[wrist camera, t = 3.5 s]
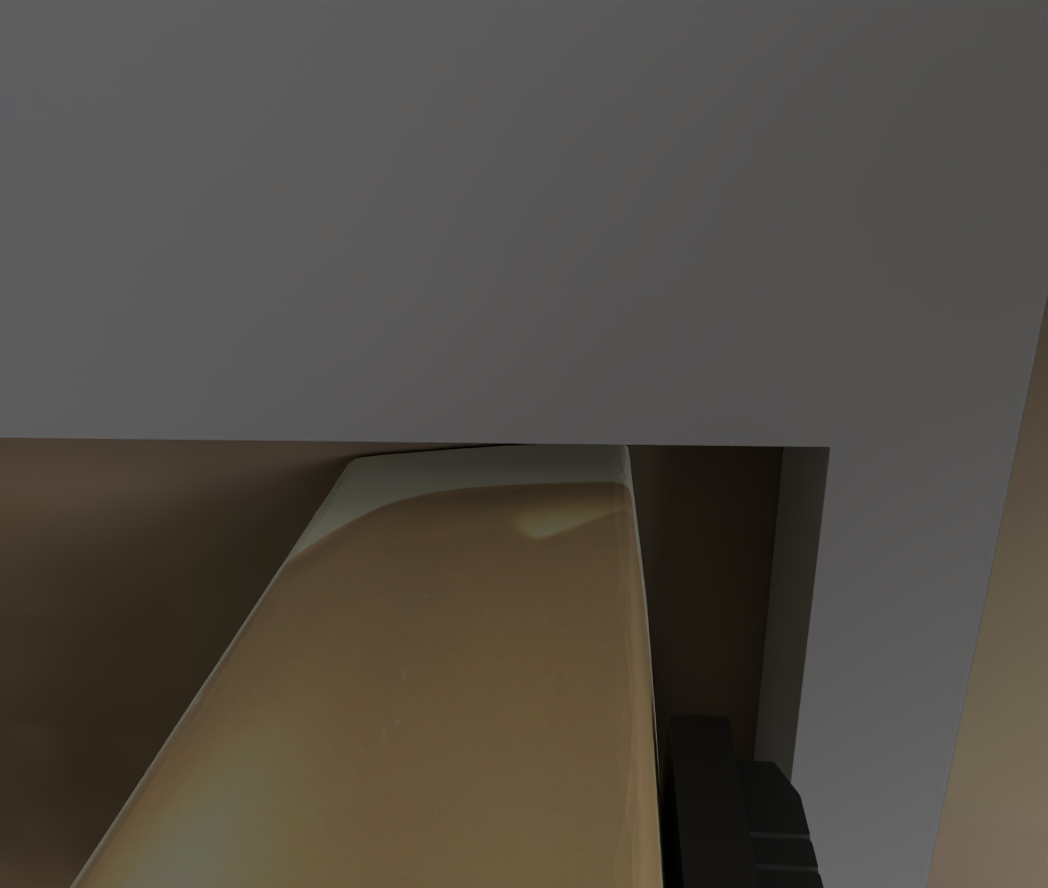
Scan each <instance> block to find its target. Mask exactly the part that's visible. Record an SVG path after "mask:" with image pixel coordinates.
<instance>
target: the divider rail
mask: <svg viewBox="0 0 1048 888" xmlns="http://www.w3.org/2000/svg"><path fill="white" fill-rule="evenodd" d="M1047 296H1048V0H0V438H71V439H162V440H252V441H342V442H433V443H523V444H613V445H703V446H784V447H783V458H782V468H781V479H780V489H779V500H778V510H777V520H776V531H775V541H774V552H773V562H772V573H771V583H770V594H769V604H768V614H767V625H766V635H765V646H764V656H763V667H762V677H761V687H760V698H759V708H758V719H757V729H756V740H755V750H754V761H769V762H775V764H776V765H777V766H778V767H779V769H780V770H781V771H782V773H783V774H784V775H785V776H786V778H787V779H788V780H789V782H790V783H791V784H792V785H793V787H794V788H795V789H796V790H797V792H798V793H799V794H800V796H801V800H802V804H803V808H804V812H805V816H806V820H807V824H808V828H809V832H810V841H812V844H813V848H814V852H815V856H816V859H817V863H818V873H819V874H820V875H821V879H822V883H823V887H824V888H926V885H927V880H928V875H929V870H930V865H931V861H932V856H933V851H934V846H935V841H936V836H937V831H938V826H939V822H940V817H941V812H942V807H943V802H944V797H945V792H946V788H947V783H948V778H949V773H950V768H951V763H952V758H953V753H954V749H955V744H956V739H957V734H958V729H959V724H960V719H961V715H962V710H963V705H964V700H965V695H966V690H967V685H968V680H969V676H970V671H971V666H972V661H973V656H974V651H975V646H976V642H977V637H978V632H979V627H980V622H981V617H982V612H983V607H984V603H985V598H986V593H987V588H988V583H989V578H990V573H991V569H992V564H993V559H994V554H995V549H996V544H997V539H998V534H999V530H1000V525H1001V520H1002V515H1003V510H1004V505H1005V500H1006V496H1007V491H1008V486H1009V481H1010V476H1011V471H1012V466H1013V461H1014V457H1015V452H1016V447H1017V442H1018V437H1019V432H1020V427H1021V423H1022V418H1023V413H1024V408H1025V403H1026V398H1027V393H1028V388H1029V384H1030V379H1031V374H1032V369H1033V364H1034V359H1035V354H1036V350H1037V345H1038V340H1039V335H1040V330H1041V325H1042V320H1043V315H1044V311H1045V306H1046V301H1047Z"/></svg>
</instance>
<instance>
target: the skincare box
mask: <svg viewBox="0 0 1048 888" xmlns="http://www.w3.org/2000/svg"><path fill="white" fill-rule="evenodd" d="M70 888H667V887H666V874H665V861H664V844H663V828H662V812H661V797H660V782H659V766H658V750H657V734H656V718H655V704H654V691H653V677H652V664H651V650H650V636H649V622H648V609H647V598H646V589H645V581H644V573H643V564H642V556H641V547H640V539H639V531H638V523H637V515H636V506H635V498H634V490H633V482H632V474H631V463H630V456H629V451H628V447H627V446H626V445H613V444H527V445H508V446H494V447H478V448H462V449H450V450H438V451H425V452H414V453H401V454H388V455H378V456H369V457H361V458H357V459H355V460H353V461H351V462H350V463H348V465H347V466H346V468H345V469H344V471H343V473H342V474H341V476H340V477H339V479H338V480H337V482H336V483H335V485H334V486H333V488H332V490H331V491H330V493H329V494H328V496H327V497H326V499H325V500H324V501H323V503H322V504H321V506H320V507H319V509H318V510H317V512H316V513H315V515H314V516H313V518H312V520H311V521H310V523H309V524H308V526H307V527H306V529H305V530H304V532H303V533H302V535H301V536H300V538H299V539H298V541H297V543H296V544H295V546H294V547H293V549H292V551H291V552H290V554H289V555H288V557H287V558H286V560H285V561H284V563H283V564H282V565H281V567H280V568H279V570H278V571H277V573H276V574H275V576H274V577H273V579H272V580H271V582H270V583H269V585H268V587H267V588H266V590H265V591H264V593H263V594H262V596H261V597H260V599H259V600H258V602H257V603H256V605H255V606H254V608H253V609H252V611H251V612H250V614H249V616H248V617H247V619H246V620H245V622H244V623H243V625H242V626H241V628H240V629H239V631H238V632H237V634H236V636H235V637H234V639H233V640H232V642H231V643H230V645H229V646H228V648H227V649H226V651H225V652H224V654H223V655H222V657H221V659H220V660H219V662H218V663H217V665H216V666H215V668H214V669H213V671H212V672H211V674H210V675H209V676H208V678H207V679H206V681H205V682H204V684H203V685H202V687H201V688H200V690H199V691H198V693H197V694H196V696H195V697H194V699H193V700H192V702H191V704H190V705H189V707H188V708H187V710H186V711H185V713H184V714H183V716H182V717H181V719H180V720H179V722H178V723H177V725H176V726H175V728H174V729H173V731H172V732H171V734H170V736H169V737H168V739H167V740H166V742H165V743H164V745H163V746H162V748H161V749H160V751H159V752H158V754H157V755H156V757H155V759H154V760H153V762H152V763H151V765H150V766H149V768H148V769H147V771H146V772H145V774H144V775H143V777H142V779H141V780H140V782H139V783H138V785H137V786H136V788H135V789H134V791H133V792H132V794H131V795H130V797H129V798H128V800H127V802H126V803H125V805H124V806H123V808H122V809H121V811H120V812H119V814H118V815H117V817H116V818H115V820H114V821H113V823H112V824H111V826H110V827H109V829H108V831H107V832H106V834H105V835H104V837H103V838H102V840H101V841H100V843H99V844H98V846H97V847H96V849H95V850H94V852H93V853H92V855H91V856H90V858H89V859H88V861H87V862H86V864H85V865H84V867H83V868H82V870H81V871H80V873H79V874H78V876H77V877H76V879H75V881H74V882H73V884H72V885H71V887H70Z"/></svg>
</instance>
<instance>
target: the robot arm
mask: <svg viewBox="0 0 1048 888" xmlns="http://www.w3.org/2000/svg"><path fill="white" fill-rule="evenodd" d="M662 828H663V844H664V861H665V874H666V887H667V888H824V887H823V883H822V879H821V875H820V874H819V873H818V863H817V859H816V856H815V852H814V848H813V844H812V841H810V832H809V828H808V824H807V820H806V816H805V812H804V808H803V804H802V800H801V796H800V794H799V793H798V792H797V790H796V789H795V788H794V787H793V785H792V784H791V783H790V782H789V780H788V779H787V778H786V776H785V775H784V774H783V773H782V771H781V770H780V769H779V767H778V766H777V765H776V764H775V762H769V761H744V760H736V755H735V749H734V743H733V738H732V732H731V726H730V721H729V718H728V716H727V715H700V714H672V713H668V714H667V718H666V734H665V756H664V777H663V799H662Z"/></svg>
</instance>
